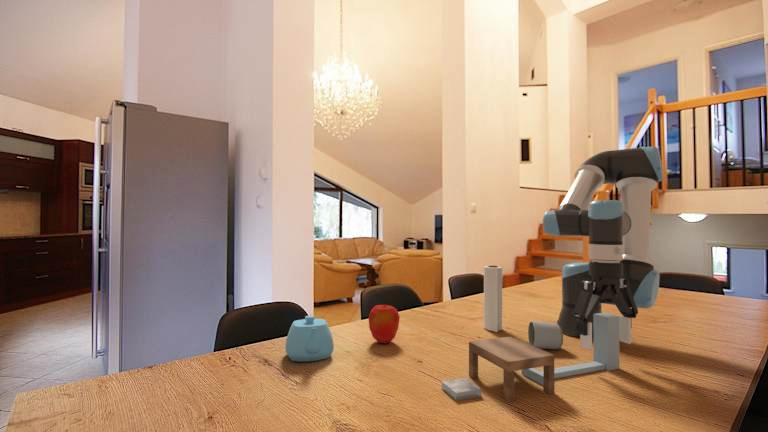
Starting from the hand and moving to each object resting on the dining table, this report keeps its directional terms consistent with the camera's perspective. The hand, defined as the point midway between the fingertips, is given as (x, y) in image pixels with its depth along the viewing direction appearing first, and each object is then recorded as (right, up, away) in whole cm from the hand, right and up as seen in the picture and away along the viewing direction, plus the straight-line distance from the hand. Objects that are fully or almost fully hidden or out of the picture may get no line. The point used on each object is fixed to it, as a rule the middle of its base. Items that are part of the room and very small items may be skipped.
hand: (606, 345), depth 95 cm
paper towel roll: (-19, -6, +33) cm, 39 cm away
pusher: (-10, -5, -4) cm, 12 cm away
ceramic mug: (-10, -6, +15) cm, 19 cm away
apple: (-56, -6, +18) cm, 59 cm away
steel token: (-40, -5, -15) cm, 43 cm away
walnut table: (-28, -5, -11) cm, 31 cm away
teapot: (-76, -5, +5) cm, 76 cm away
